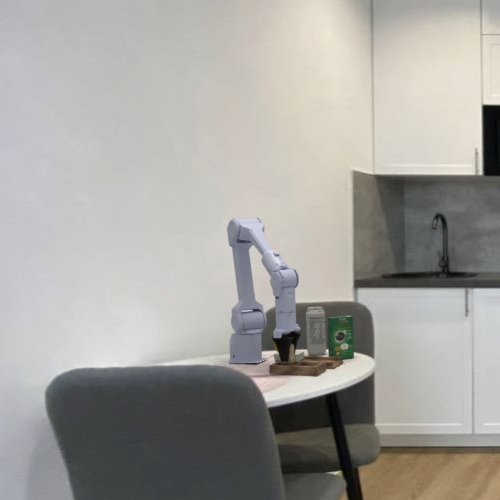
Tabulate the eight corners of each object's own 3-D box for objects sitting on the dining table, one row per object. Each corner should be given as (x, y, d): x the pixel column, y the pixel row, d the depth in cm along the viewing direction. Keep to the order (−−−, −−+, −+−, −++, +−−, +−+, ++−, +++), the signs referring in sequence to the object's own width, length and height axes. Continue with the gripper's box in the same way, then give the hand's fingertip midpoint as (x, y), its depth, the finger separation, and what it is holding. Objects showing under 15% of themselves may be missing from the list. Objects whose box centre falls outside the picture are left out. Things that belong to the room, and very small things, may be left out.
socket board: (269, 374, 202) (269, 365, 202) (280, 368, 209) (279, 360, 209) (317, 376, 196) (316, 367, 196) (326, 370, 204) (325, 362, 204)
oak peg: (278, 366, 203) (277, 345, 203) (283, 364, 207) (282, 343, 206) (292, 367, 201) (291, 345, 201) (296, 364, 205) (295, 343, 205)
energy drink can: (324, 352, 233) (323, 306, 233) (327, 355, 227) (325, 308, 227) (306, 353, 233) (304, 306, 232) (308, 356, 227) (306, 308, 226)
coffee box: (349, 356, 224) (348, 314, 223) (355, 358, 221) (353, 315, 221) (328, 360, 220) (326, 317, 219) (333, 361, 217) (331, 317, 217)
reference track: (273, 366, 213) (273, 360, 213) (285, 360, 221) (284, 355, 221) (334, 369, 205) (333, 362, 205) (343, 363, 213) (343, 357, 213)
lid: (273, 361, 214) (273, 351, 214) (281, 357, 220) (281, 347, 220) (297, 362, 211) (296, 352, 211) (304, 358, 217) (304, 348, 217)
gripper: (289, 315, 195) (291, 365, 196) (307, 308, 209) (309, 355, 209) (265, 314, 198) (267, 364, 199) (284, 308, 211) (286, 354, 212)
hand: (287, 359), depth 204 cm, fingers closed on oak peg, 4 cm apart
